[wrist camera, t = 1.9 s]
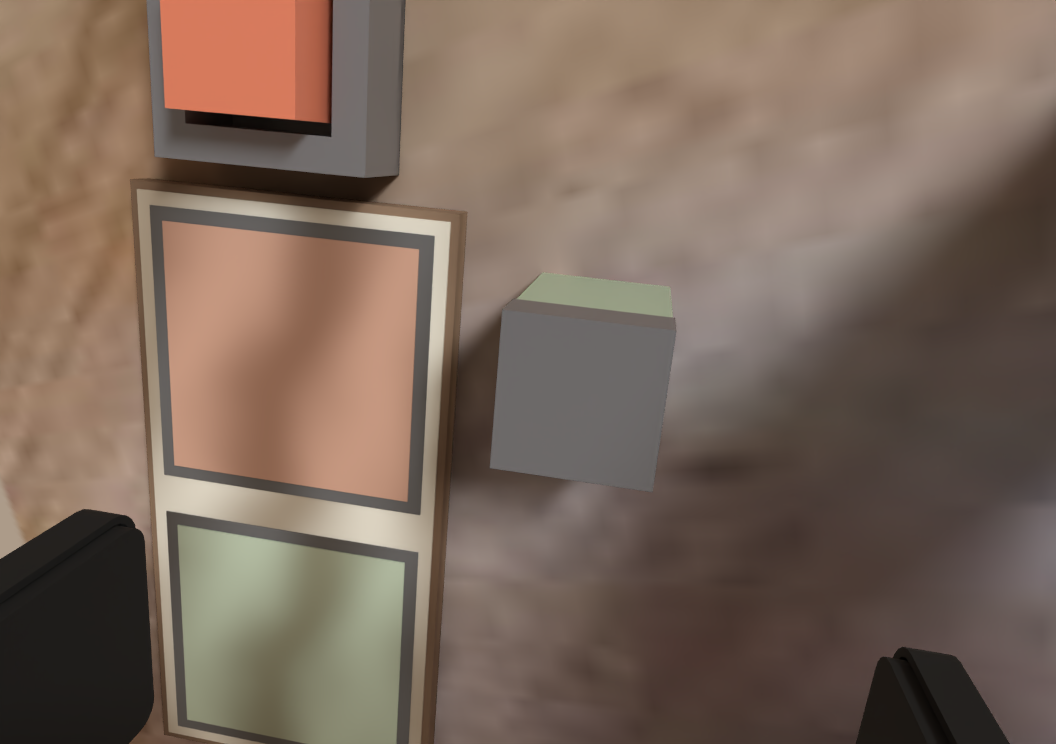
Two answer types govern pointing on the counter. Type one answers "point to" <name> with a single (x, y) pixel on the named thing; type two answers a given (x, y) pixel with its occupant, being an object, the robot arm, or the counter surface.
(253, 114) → the button
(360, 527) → the picture board
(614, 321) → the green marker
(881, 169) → the counter surface
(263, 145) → the button housing
